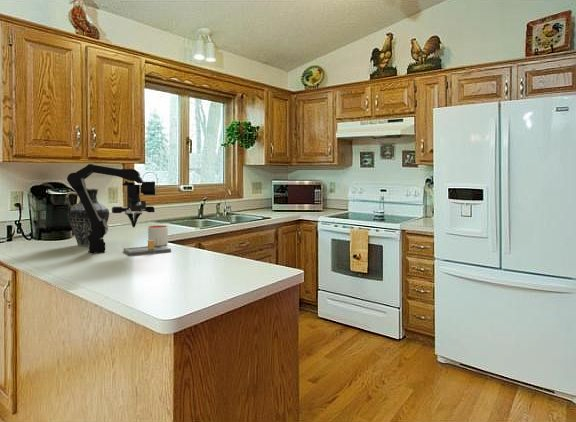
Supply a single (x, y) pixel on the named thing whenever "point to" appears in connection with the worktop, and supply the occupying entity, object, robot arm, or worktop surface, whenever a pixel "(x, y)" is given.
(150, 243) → the fader
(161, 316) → the worktop surface
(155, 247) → the grey rectangular panel
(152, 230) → the cup
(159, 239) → the fader
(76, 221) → the dark patterned vase
